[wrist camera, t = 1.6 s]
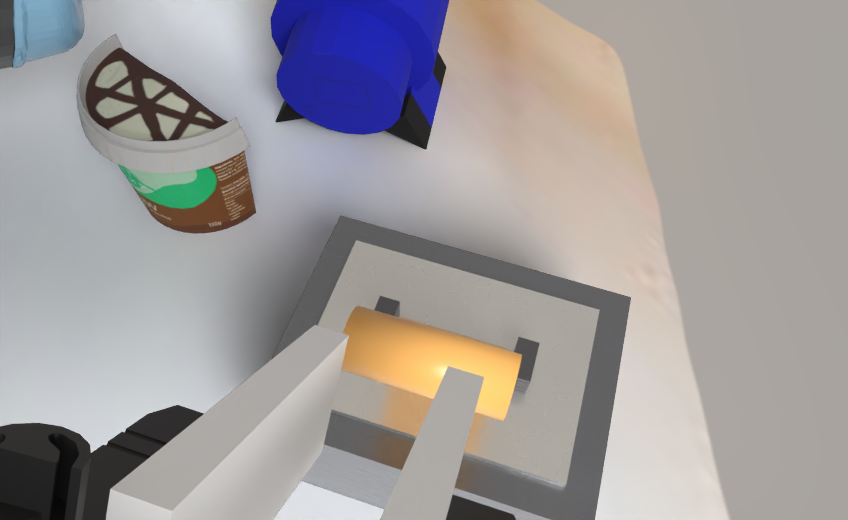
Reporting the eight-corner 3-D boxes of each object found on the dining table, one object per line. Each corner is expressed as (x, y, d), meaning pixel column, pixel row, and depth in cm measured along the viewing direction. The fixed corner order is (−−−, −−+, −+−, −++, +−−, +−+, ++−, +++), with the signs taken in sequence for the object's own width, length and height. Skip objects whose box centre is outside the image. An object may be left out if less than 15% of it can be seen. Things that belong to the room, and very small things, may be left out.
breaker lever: (502, 385, 30) (503, 426, 20) (387, 350, 31) (331, 372, 21) (515, 339, 30) (523, 357, 20) (400, 305, 31) (350, 305, 21)
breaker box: (549, 565, 35) (603, 524, 26) (273, 471, 37) (234, 403, 28) (587, 367, 42) (642, 279, 32) (349, 296, 44) (338, 195, 35)
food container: (89, 186, 48) (23, 80, 39) (157, 138, 50) (110, 29, 42) (203, 280, 44) (157, 185, 35) (270, 223, 47) (243, 122, 38)
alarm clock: (447, 62, 56) (463, -116, 44) (421, 170, 50) (431, -3, 37) (309, 41, 57) (285, -140, 45) (265, 144, 51) (223, -34, 38)
